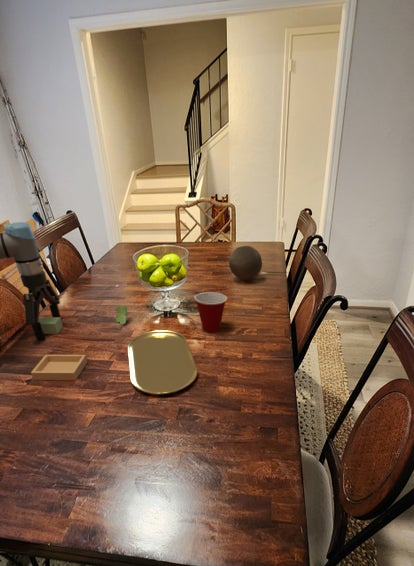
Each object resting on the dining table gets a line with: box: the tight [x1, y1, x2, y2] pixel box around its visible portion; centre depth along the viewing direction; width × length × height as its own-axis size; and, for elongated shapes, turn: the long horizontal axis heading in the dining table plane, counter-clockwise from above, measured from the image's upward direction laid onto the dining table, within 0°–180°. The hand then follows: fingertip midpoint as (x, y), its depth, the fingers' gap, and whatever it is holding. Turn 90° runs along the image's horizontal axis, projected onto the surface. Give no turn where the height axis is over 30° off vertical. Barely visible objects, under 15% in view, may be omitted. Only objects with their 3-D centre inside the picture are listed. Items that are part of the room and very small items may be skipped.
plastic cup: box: [194, 291, 228, 334], centre depth 124 cm, size 11×11×12 cm
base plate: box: [30, 354, 88, 381], centre depth 109 cm, size 13×10×3 cm
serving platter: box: [127, 329, 199, 396], centre depth 111 cm, size 19×35×2 cm, turn 13°
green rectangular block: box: [38, 316, 64, 335], centre depth 131 cm, size 8×5×4 cm, turn 86°
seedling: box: [115, 304, 129, 326], centre depth 136 cm, size 7×8×6 cm
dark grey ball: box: [228, 245, 263, 281], centre depth 162 cm, size 14×14×15 cm
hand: (50, 330), depth 132 cm, fingers open, 13 cm apart
